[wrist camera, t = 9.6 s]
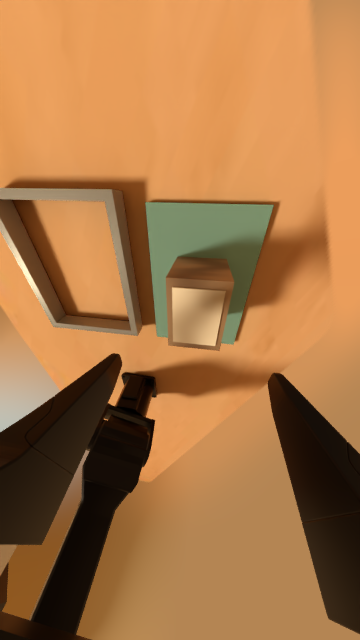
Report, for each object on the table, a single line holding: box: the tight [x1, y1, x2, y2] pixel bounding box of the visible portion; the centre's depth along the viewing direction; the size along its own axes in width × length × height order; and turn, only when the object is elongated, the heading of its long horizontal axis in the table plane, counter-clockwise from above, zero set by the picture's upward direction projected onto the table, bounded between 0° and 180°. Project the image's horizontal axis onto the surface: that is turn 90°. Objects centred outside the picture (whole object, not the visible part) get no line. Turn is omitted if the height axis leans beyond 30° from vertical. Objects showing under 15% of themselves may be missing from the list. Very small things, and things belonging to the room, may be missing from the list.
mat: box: [145, 202, 274, 344], centre depth 19 cm, size 16×11×1 cm
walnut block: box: [166, 257, 234, 351], centre depth 16 cm, size 5×7×6 cm
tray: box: [0, 188, 142, 336], centre depth 19 cm, size 16×13×2 cm
